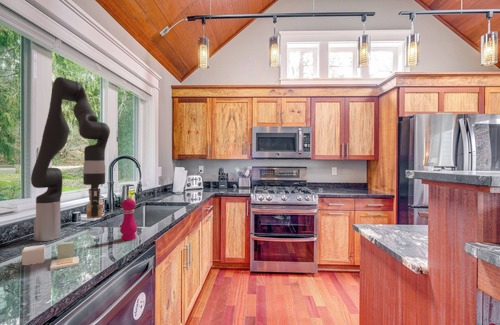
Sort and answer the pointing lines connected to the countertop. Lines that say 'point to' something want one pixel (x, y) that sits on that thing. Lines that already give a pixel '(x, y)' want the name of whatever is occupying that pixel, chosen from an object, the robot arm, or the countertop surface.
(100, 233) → the countertop surface
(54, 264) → the tile
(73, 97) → the robot arm
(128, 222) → the pepper mill
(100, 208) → the maple block
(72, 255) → the sage block
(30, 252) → the base block
